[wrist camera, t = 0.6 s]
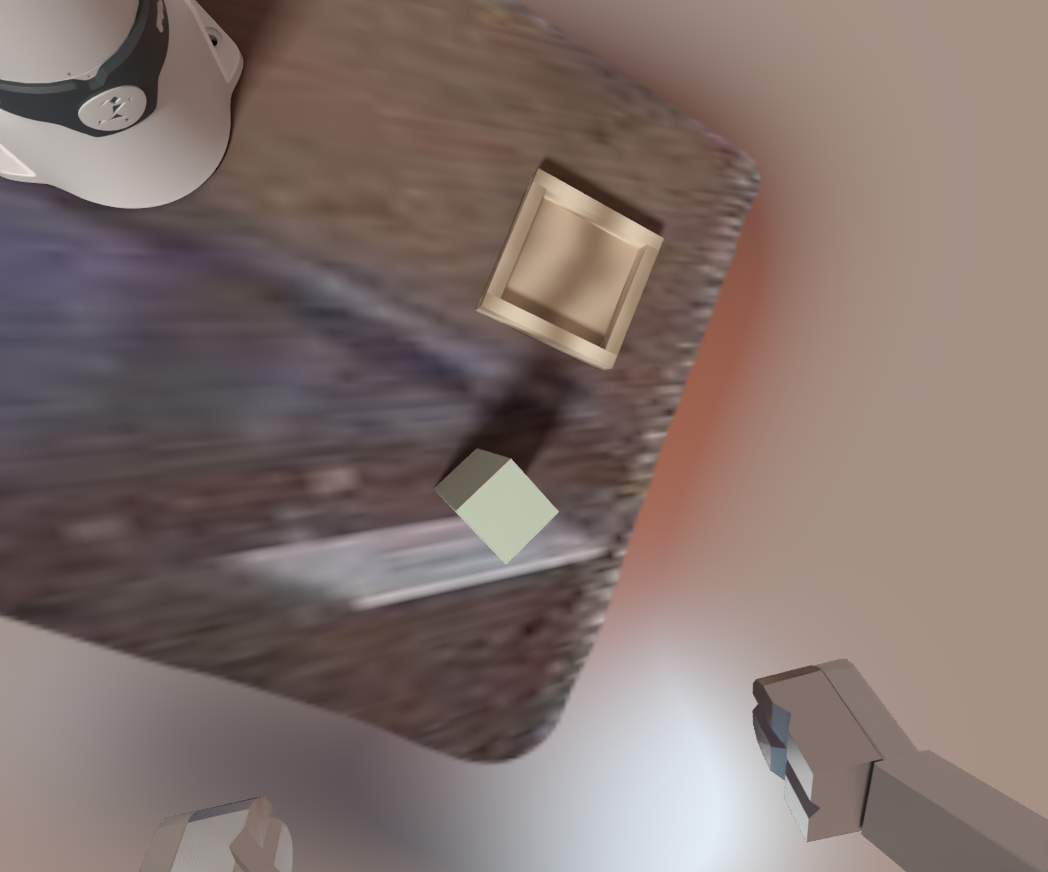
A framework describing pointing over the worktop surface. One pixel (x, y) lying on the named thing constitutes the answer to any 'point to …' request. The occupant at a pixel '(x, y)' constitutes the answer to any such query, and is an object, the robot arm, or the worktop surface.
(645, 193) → the worktop surface
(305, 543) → the worktop surface
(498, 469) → the sage block
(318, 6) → the worktop surface
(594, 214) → the ash wood holder
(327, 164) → the worktop surface
